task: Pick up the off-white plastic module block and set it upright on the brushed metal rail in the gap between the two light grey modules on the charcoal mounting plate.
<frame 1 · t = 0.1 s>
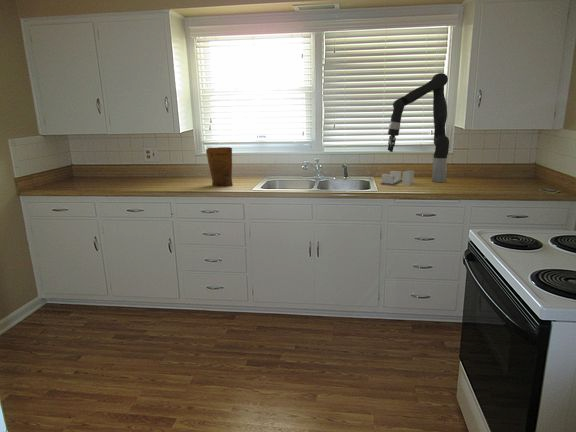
hand: (390, 151, 309), 22 cm above the counter, tool pointing down, fingers open, 8 cm apart
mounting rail: (391, 182, 310), on the counter
pancake mix bag: (221, 186, 311), on the counter
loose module: (407, 184, 305), on the counter
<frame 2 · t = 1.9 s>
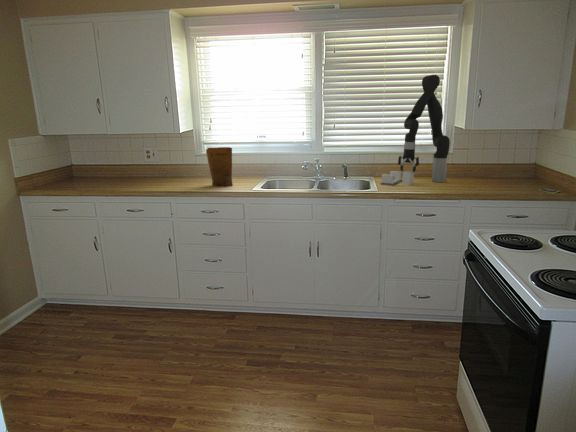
hand: (407, 171, 303), 9 cm above the counter, tool pointing down, fingers open, 8 cm apart
nothing on the counter moved.
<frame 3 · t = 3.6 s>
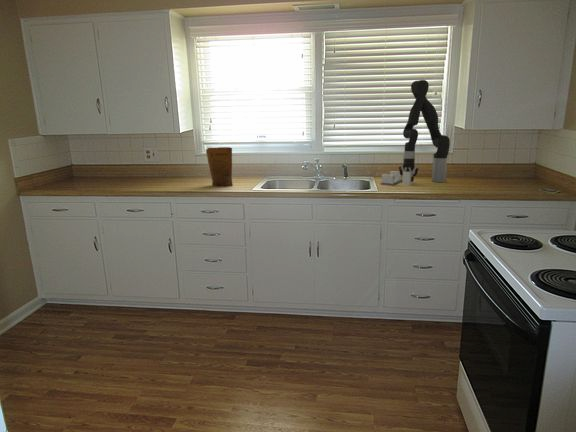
hand: (407, 181, 304), 2 cm above the counter, tool pointing down, fingers closed on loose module, 5 cm apart
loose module: (407, 183, 305), on the counter, touching gripper
everything else where it was.
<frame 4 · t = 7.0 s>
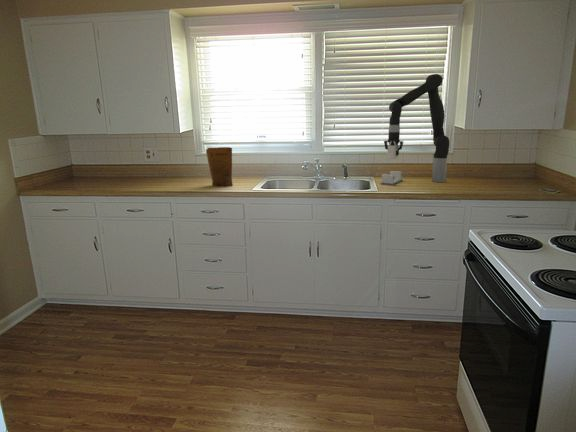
hand: (393, 155, 305), 20 cm above the counter, tool pointing down, fingers closed on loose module, 5 cm apart
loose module: (392, 158, 306), point 18 cm above the counter, touching gripper
everything else where it was.
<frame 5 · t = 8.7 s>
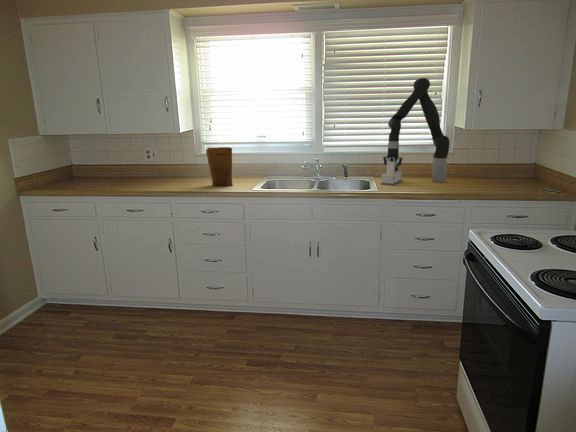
hand: (392, 171, 308), 8 cm above the counter, tool pointing down, fingers closed on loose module, 5 cm apart
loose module: (392, 173, 309), point 6 cm above the counter, touching gripper
everything else where it was.
when the fingers open (5 cm above the counter, at t = 10.4 s): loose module drops 1 cm, resting on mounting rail.
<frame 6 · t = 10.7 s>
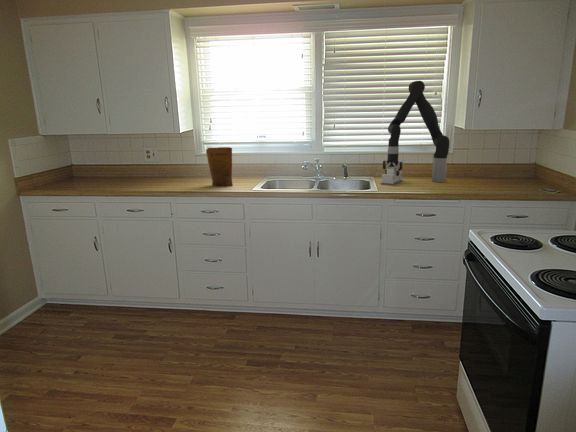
hand: (392, 175, 309), 5 cm above the counter, tool pointing down, fingers open, 7 cm apart
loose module: (391, 180, 310), point 1 cm above the counter, touching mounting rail
everything else where it was.
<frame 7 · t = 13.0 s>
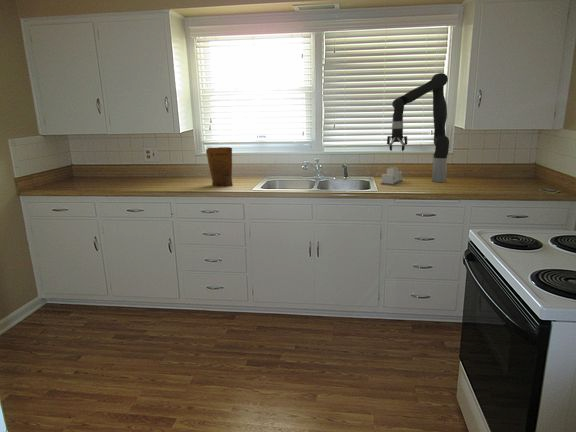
hand: (396, 150, 307), 23 cm above the counter, tool pointing down, fingers open, 8 cm apart
nothing on the counter moved.
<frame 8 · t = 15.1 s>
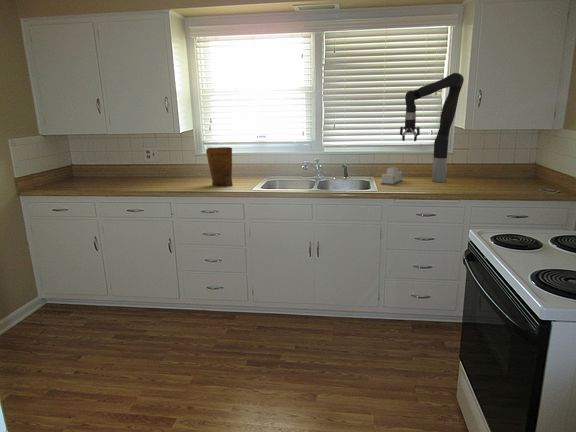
hand: (409, 141, 320), 28 cm above the counter, tool pointing down, fingers open, 8 cm apart
nothing on the counter moved.
at the end: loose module 0.0 cm off-centre on the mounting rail, point 1.4 cm above the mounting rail's base; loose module tilted 0°; the gripper is holding nothing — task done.
